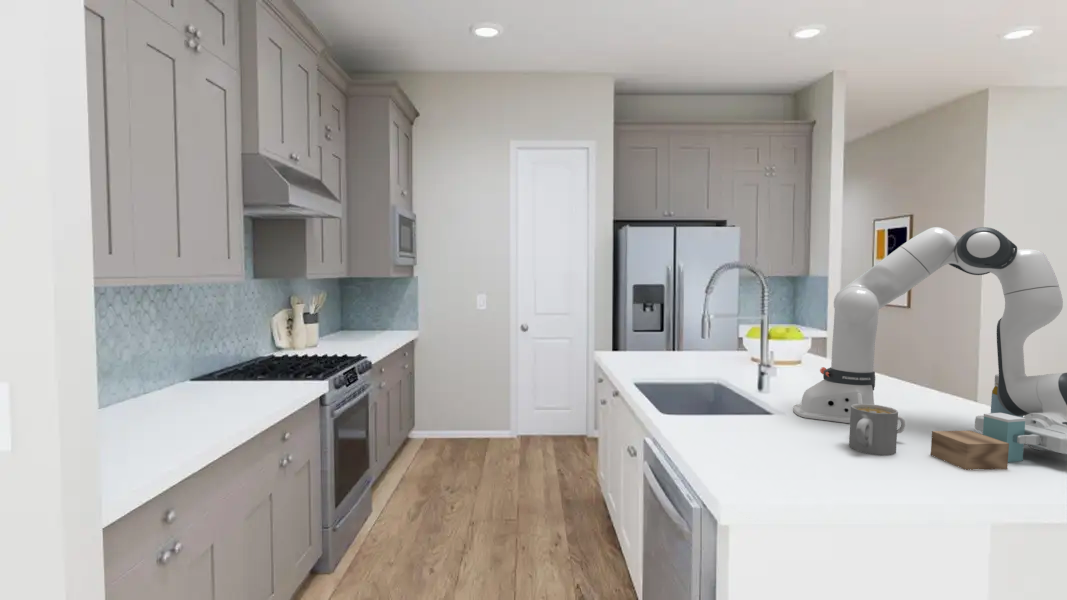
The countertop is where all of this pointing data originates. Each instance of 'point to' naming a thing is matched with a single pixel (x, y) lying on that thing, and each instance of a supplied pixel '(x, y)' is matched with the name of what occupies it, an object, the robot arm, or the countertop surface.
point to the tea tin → (1005, 432)
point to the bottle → (995, 403)
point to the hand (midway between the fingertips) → (1000, 435)
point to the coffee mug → (873, 429)
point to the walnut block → (969, 450)
